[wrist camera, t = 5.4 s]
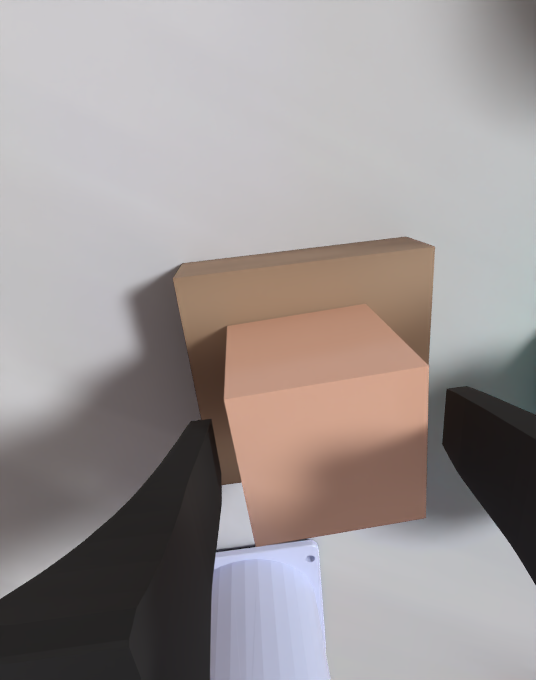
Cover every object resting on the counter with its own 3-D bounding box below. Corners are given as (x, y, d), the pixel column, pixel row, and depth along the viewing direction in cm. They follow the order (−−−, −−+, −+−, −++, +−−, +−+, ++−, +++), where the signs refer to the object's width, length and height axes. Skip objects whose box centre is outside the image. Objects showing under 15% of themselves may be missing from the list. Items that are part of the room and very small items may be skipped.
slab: (397, 418, 20) (423, 457, 17) (217, 442, 20) (214, 486, 17) (401, 235, 16) (434, 246, 14) (183, 261, 16) (173, 278, 13)
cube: (371, 420, 16) (425, 517, 12) (249, 440, 16) (255, 547, 11) (365, 303, 14) (428, 365, 10) (227, 326, 14) (224, 399, 10)
